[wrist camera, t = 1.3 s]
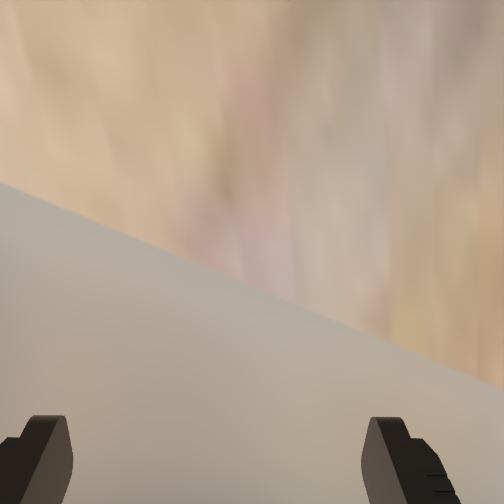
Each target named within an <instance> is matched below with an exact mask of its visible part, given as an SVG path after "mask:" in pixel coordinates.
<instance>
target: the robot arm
mask: <svg viewBox="0 0 504 504" xmlns="http://www.w3.org/2000/svg"><path fill="white" fill-rule="evenodd" d="M72 468H73V452H72V448H71V442H70V437H69V432H68V426H67V421H66V418H65V416H60V415H59V416H58V415H34V416H32V417H31V418H30V419H29V421H28V422H27V424H26V426H25V428H24V430H23V432H22V434H21V436H20V438H13V437H12V438H11V437H10V438H9V437H7V438H6V439H5V440H4V441H3V442H2V443H1V444H0V504H61V503H62V501H63V498H64V496H65V493H66V490H67V487H68V485H69V482H70V479H71V475H72ZM361 468H362V476H363V481H364V484H365V487H366V491H367V494H368V498H369V502H370V504H461V503H460V500H459V498H458V497H457V496H456V495H455V490H454V488H453V486H452V484H451V482H450V480H449V479H448V478H447V473H446V471H445V469H444V467H443V465H442V463H441V461H440V459H439V457H438V455H437V454H436V453H435V452H434V451H433V450H432V449H431V447H430V446H429V445H428V444H427V443H426V442H425V441H424V440H423V439H416V438H411V437H410V435H409V433H408V430H407V428H406V426H405V423H404V422H403V420H402V419H401V418H400V417H372V418H371V419H370V422H369V426H368V430H367V434H366V439H365V443H364V447H363V452H362V459H361Z"/></svg>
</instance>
